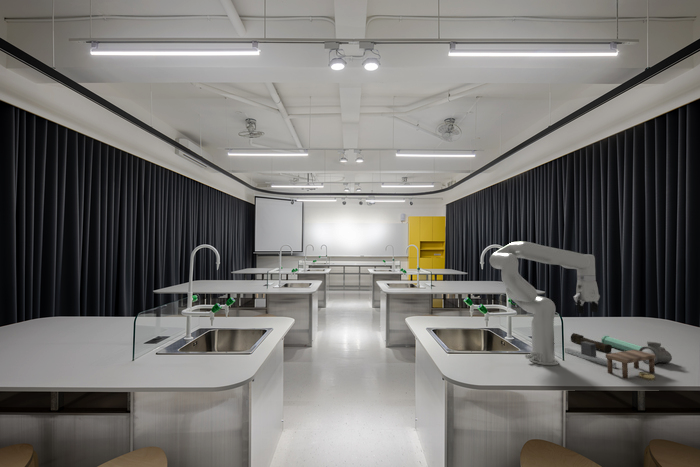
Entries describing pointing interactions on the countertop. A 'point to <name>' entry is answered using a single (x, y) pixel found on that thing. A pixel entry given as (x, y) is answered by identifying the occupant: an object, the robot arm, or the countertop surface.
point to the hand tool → (600, 346)
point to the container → (619, 344)
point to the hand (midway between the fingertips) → (587, 312)
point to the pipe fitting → (656, 352)
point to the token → (646, 376)
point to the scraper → (588, 353)
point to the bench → (630, 360)
